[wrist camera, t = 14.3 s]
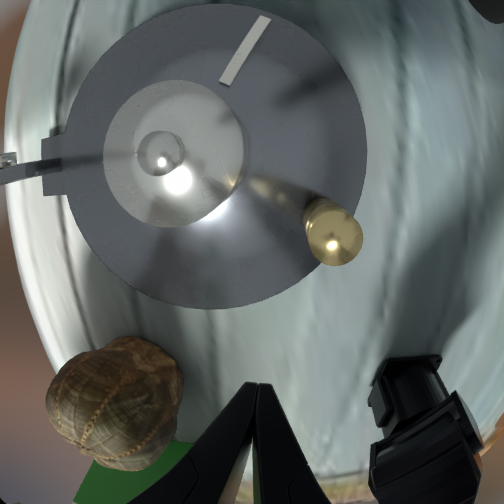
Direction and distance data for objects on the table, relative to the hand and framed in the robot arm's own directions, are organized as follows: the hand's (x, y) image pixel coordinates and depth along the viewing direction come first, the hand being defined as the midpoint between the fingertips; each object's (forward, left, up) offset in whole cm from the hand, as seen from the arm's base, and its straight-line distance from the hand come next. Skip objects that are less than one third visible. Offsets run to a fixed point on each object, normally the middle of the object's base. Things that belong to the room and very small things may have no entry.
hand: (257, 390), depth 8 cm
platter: (+5, -7, -10) cm, 14 cm away
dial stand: (+16, -7, -12) cm, 21 cm away
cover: (+5, -7, -9) cm, 13 cm away
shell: (+12, +12, -12) cm, 21 cm away
